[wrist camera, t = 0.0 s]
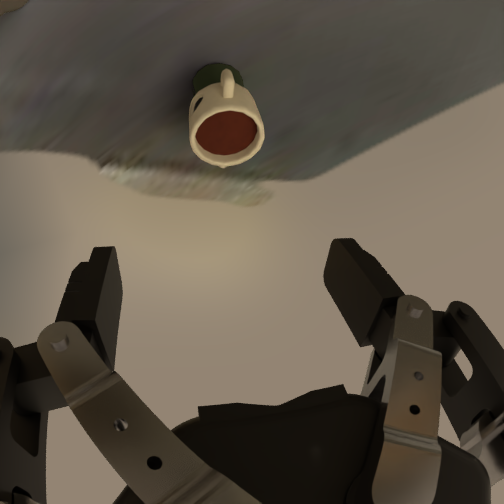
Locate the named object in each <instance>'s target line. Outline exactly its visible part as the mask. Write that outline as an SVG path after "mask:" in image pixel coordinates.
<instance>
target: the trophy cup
mask: <svg viewBox="0 0 504 504" xmlns="http://www.w3.org/2000/svg"><path fill="white" fill-rule="evenodd" d="M193 85H194V90H195V93H196V95H195V94H194V91H193V94H194V97H193V99H192V101H191V104H190V108H189V133H190V144H191V147H192V149H193V152H194V153H195V154H196V155H197V156H198V157H199V158H200V159H201V160H203V161H205V162H207V163H210V164H212V165H217V166H219V167H221V168H225V167H226V166H232V165H237V164H240V163H242V162H244V161H246V160H248V159H250V158H252V157H253V156H254V155H255V154H256V153H257V152H258V151H259V150H260V148H261V146H262V143H263V141H264V139H265V136H264V126H263V122H262V120H261V117H260V114H259V111H258V109H257V106H256V103H255V101H254V99H253V97H252V96H251V94H250V93H249V91H248V90H247V89H245V88H244V86H243V80H242V77H241V75H240V73H239V71H237V70H236V69H234V68H233V67H232V66H230V65H225V64H220V63H219V64H211V65H207V66H205V67H204V68H202V69H201V70H200V71H198V72H197V74H196V76H195V77H194V79H193Z"/></svg>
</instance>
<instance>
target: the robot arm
mask: <svg viewBox="0 0 504 504" xmlns="http://www.w3.org/2000/svg"><path fill="white" fill-rule="evenodd" d="M68 282H69V283H68V284H67V287H66V290H65V293H64V296H63V298H62V301H61V304H60V307H59V311H58V313H57V317H56V320H55V323H53V324H50V325H49V326H47V327H46V328H45V329H44V330H43V331H42V332H41V333H40V335H39V337H38V339H37V342H35V343H31V344H28V345H24V346H21V347H17V348H14V347H13V346H12V344H11V342H10V341H9V340H8V339H6V338H3V337H0V504H47V503H46V439H47V422H48V421H47V420H48V411H50V410H54V409H58V408H62V407H66V406H69V407H70V409H71V410H72V412H73V413H74V415H75V416H76V418H77V419H78V421H79V422H80V424H81V425H82V427H83V428H84V430H85V431H86V433H87V434H88V435H89V437H90V438H91V440H92V441H93V442H94V444H95V445H96V446H97V448H98V449H99V450H100V452H101V453H102V454H103V456H104V457H105V458H106V459H107V461H108V462H109V463H110V464H111V466H112V467H113V468H114V469H115V471H116V472H117V473H118V474H119V475H120V477H121V478H122V479H123V480H124V481H125V482H126V484H127V486H126V487H125V488H124V490H123V491H122V492H121V494H120V495H119V496H118V497H117V499H116V500H115V501H114V503H113V504H491V486H493V485H494V484H495V483H497V482H498V481H500V480H502V479H503V478H504V349H503V348H502V347H501V345H500V344H499V342H498V341H497V339H496V338H495V337H494V335H493V334H492V333H491V331H490V330H489V329H488V327H487V326H486V325H485V323H484V322H483V321H482V319H481V318H480V317H479V315H478V314H477V313H476V312H475V311H474V309H473V308H472V307H470V306H469V305H467V304H466V303H463V302H460V301H453V302H451V303H450V305H449V306H448V308H447V310H446V312H443V311H434V310H432V309H431V307H430V306H429V305H428V304H427V303H426V302H425V301H424V300H422V299H420V298H419V297H416V296H413V295H405V294H404V292H403V291H402V290H401V289H400V287H399V286H398V285H397V284H396V283H395V281H394V280H393V279H392V277H391V276H390V275H389V274H387V271H386V270H385V269H384V268H383V267H382V265H381V264H380V263H379V262H378V261H377V260H376V258H375V257H374V256H372V255H371V254H369V253H368V252H366V251H365V250H363V249H362V248H361V247H360V246H359V244H358V243H357V242H356V241H355V240H354V239H353V238H340V239H334V240H333V241H332V243H331V246H330V250H329V254H328V258H327V262H326V266H325V269H324V283H325V286H326V288H327V290H328V292H329V293H330V295H331V296H332V298H333V300H334V302H335V304H336V305H337V307H338V309H339V310H340V312H341V314H342V316H343V317H344V319H345V321H346V323H347V324H348V326H349V328H350V330H351V331H352V333H353V335H354V337H355V339H356V340H357V342H358V344H359V346H360V347H364V346H369V345H373V347H374V349H373V351H372V353H371V356H370V361H369V365H368V369H367V373H366V377H365V381H364V385H363V388H362V392H361V394H360V395H357V394H347V392H346V390H345V387H344V385H343V384H342V385H337V386H333V387H328V388H323V389H319V390H314V391H310V392H308V393H306V394H304V395H301V396H299V397H297V398H295V399H293V400H290V401H288V402H286V403H284V404H281V405H277V406H269V405H256V404H243V403H230V404H221V405H210V406H198V413H199V417H196V418H193V419H190V420H188V421H186V422H183V423H181V424H180V425H178V426H176V427H175V428H173V429H172V430H169V429H168V428H167V427H166V426H165V425H164V424H163V422H162V421H161V420H160V419H159V418H158V417H157V416H156V415H155V414H154V413H153V412H152V411H151V410H150V409H149V408H148V407H147V406H146V405H145V403H144V402H142V400H141V399H140V398H139V397H138V396H137V395H136V393H135V392H134V391H133V390H132V389H131V388H130V387H129V385H128V384H127V383H126V382H125V381H124V380H123V378H122V377H121V376H120V375H119V374H118V373H117V372H115V371H114V365H115V355H116V345H117V335H118V327H119V319H120V311H121V303H122V294H123V290H122V281H121V276H120V271H119V265H118V259H117V253H116V249H115V247H114V246H110V247H94V248H93V251H92V253H91V256H90V259H89V262H81V263H80V264H79V265H78V266H77V267H76V268H75V269H74V270H73V271H72V273H71V276H70V278H69V281H68ZM460 349H462V351H463V352H464V354H465V355H466V357H467V358H468V360H469V361H470V363H471V365H472V368H473V374H472V377H471V378H470V379H469V381H467V379H466V377H465V376H464V374H463V372H462V371H461V369H460V368H459V366H458V364H457V363H456V361H455V359H454V357H455V356H456V355H457V353H458V352H459V351H460ZM440 403H441V405H442V406H443V408H444V410H445V412H446V414H447V416H448V418H449V420H450V422H451V424H452V426H453V428H454V430H455V432H456V434H457V436H458V438H459V441H460V448H459V447H458V446H456V445H454V444H452V443H450V442H448V441H446V440H444V439H443V438H441V437H439V436H438V427H439V416H440Z"/></svg>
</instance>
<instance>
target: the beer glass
mask: <svg viewBox="0 0 504 504" xmlns="http://www.w3.org/2000/svg"><path fill="white" fill-rule="evenodd" d="M28 1H29V0H0V16H2V15H3V14H4V13H7V12H12V11H15V10H18V9H20V8H21V7H23V6H24V5H25V4H26V3H27V2H28Z"/></svg>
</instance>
